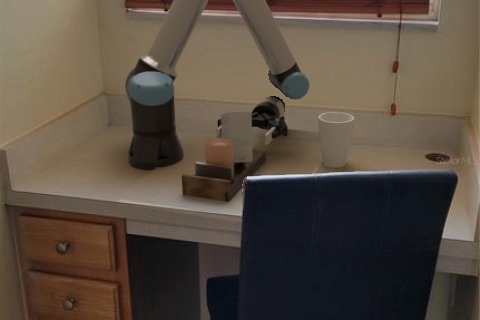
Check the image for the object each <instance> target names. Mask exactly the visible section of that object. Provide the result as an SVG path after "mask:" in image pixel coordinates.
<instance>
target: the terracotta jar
mask: <svg viewBox="0 0 480 320" xmlns="http://www.w3.org/2000/svg"><path fill="white" fill-rule="evenodd" d="M204 144H205V145H204V147H205V148H204V149H205V150H204V151H205V162H207V163H214V164H222V165H230V166H234V142H233V141H232V140H230V139H226V138H217V137H215V138H212V139H211V138H210V139H208V140H207V141H205V143H204ZM234 181H235V175H234Z"/></svg>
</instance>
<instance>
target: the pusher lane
mask: <svg viewBox="0 0 480 320" xmlns="http://www.w3.org/2000/svg"><path fill="white" fill-rule="evenodd" d="M266 161H267V151H266V150H262V151H261V152H260V153H259V154H257V156H256V157H252V162H234V175H235V181H234V182H233V183H232V185H231V181H230V180H223V179H216V178H209V177H202V176H196V173H195V174H193V175H192V174H185V173H183V174H181V188H182V191H181V192H182V196H188V197H193V198H200V199H201V198H202V199H207V200H213V201H222V202H226V203H230V202H231V201H232V200H233V199H234V197H235V196H236V195H237V194H238V193H239V192H240V190H242V188H243V187H242V184H243V180H244V178H245V177H247V176H252V177H253V176H254V175H255V173H256V172H257V171H258V170H259V169H260V168H261V166H263V165H264V163H265V162H266Z"/></svg>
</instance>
